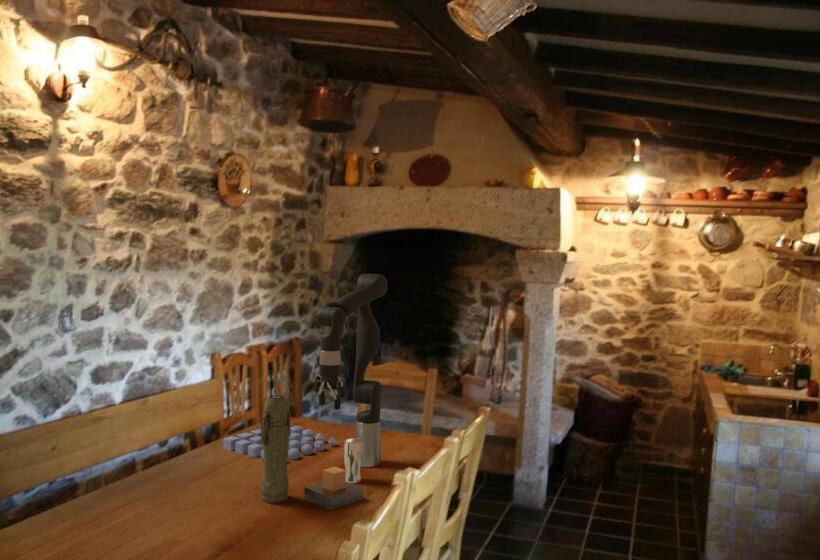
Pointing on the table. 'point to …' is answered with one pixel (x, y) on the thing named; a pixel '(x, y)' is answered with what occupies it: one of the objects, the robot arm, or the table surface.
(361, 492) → the plate
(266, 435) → the green stone statue
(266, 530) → the table surface
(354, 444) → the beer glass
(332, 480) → the light brown cube
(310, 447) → the blocks
